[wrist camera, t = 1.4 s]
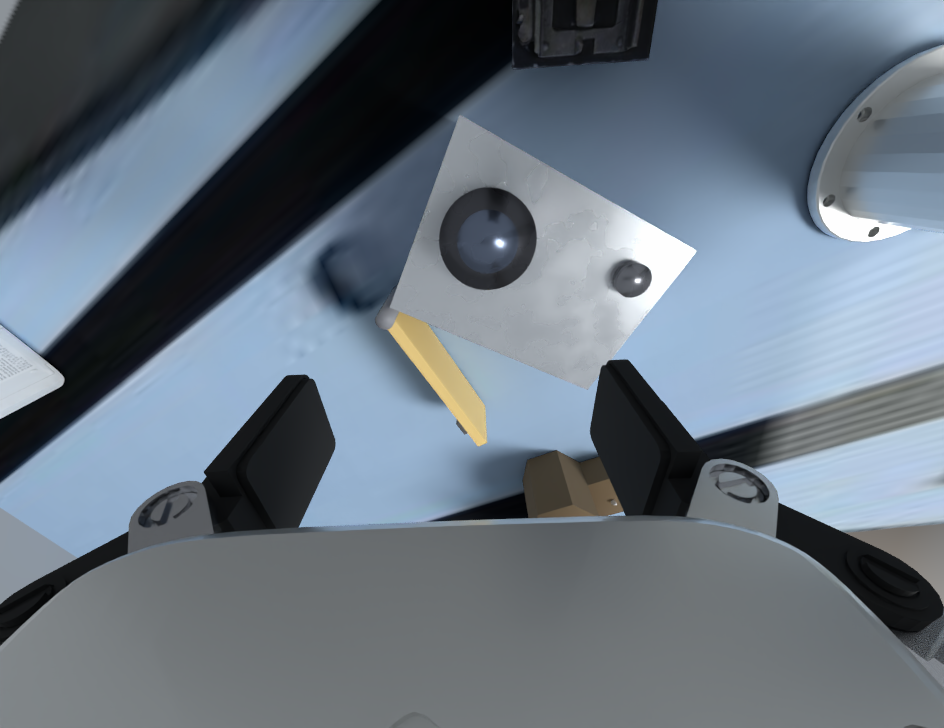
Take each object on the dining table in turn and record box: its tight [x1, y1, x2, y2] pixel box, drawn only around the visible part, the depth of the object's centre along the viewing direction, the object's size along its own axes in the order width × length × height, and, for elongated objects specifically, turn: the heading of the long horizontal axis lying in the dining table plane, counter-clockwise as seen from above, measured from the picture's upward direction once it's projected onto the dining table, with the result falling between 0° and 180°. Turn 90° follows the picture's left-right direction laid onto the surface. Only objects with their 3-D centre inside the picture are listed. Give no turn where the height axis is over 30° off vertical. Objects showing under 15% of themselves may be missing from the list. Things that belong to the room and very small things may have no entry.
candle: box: [523, 450, 623, 518], centre depth 39 cm, size 14×14×15 cm
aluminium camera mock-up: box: [390, 115, 696, 390], centre depth 27 cm, size 18×13×8 cm
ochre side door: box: [375, 285, 487, 446], centre depth 32 cm, size 16×2×7 cm, turn 30°
